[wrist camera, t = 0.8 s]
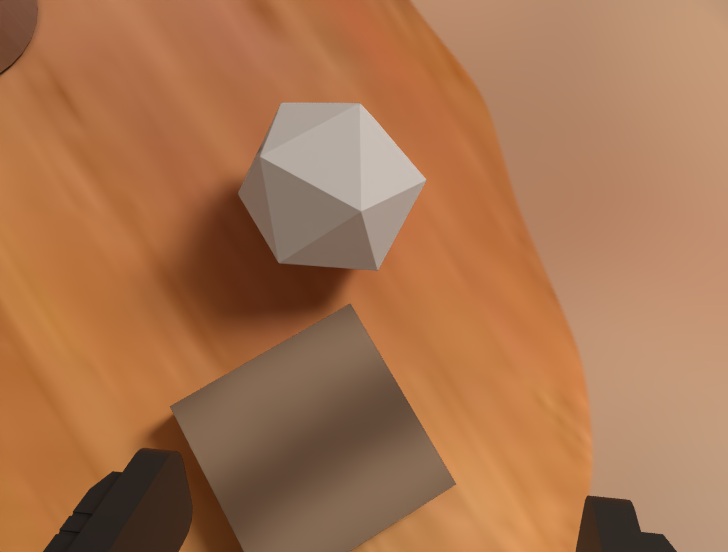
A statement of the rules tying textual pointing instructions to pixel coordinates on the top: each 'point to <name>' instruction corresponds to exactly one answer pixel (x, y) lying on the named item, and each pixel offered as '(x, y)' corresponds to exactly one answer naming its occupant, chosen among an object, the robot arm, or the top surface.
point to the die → (329, 187)
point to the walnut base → (312, 443)
